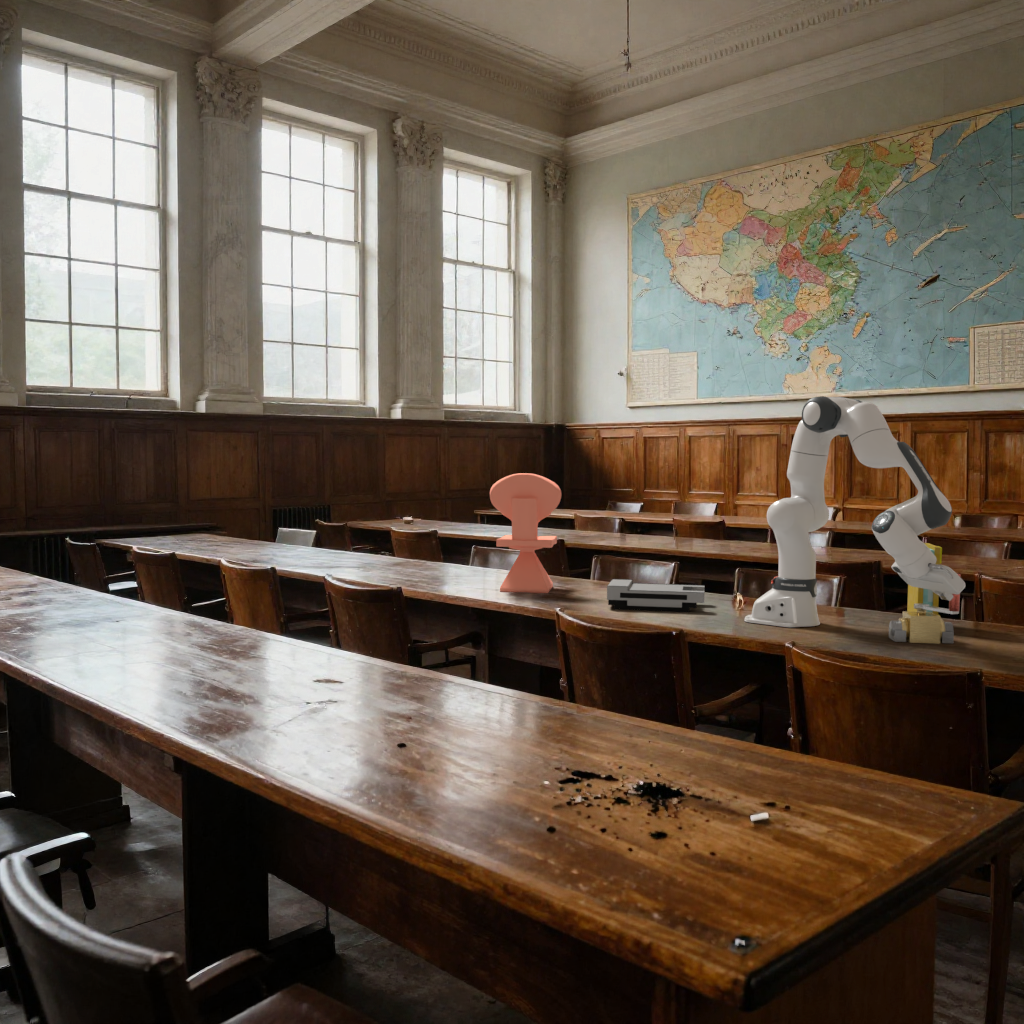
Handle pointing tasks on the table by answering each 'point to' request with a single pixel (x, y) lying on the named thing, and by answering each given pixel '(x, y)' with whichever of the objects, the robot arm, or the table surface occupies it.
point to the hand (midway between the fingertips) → (948, 598)
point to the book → (920, 593)
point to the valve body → (921, 628)
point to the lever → (953, 608)
